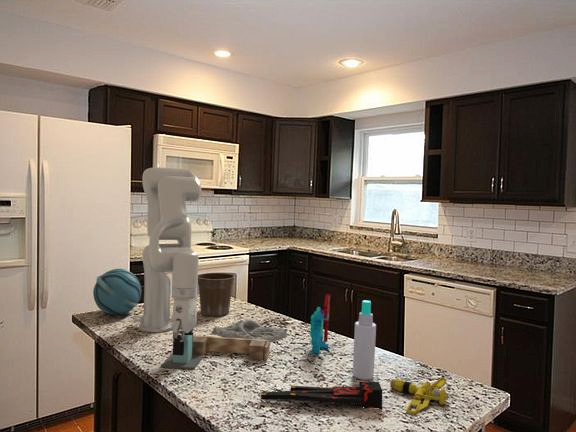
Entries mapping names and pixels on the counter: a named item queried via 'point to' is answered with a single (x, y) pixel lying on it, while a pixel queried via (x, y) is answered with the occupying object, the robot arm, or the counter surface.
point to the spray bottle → (364, 344)
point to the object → (215, 293)
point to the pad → (190, 365)
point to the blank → (185, 351)
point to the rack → (231, 346)
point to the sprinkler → (421, 392)
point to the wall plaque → (250, 331)
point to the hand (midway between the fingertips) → (183, 349)
